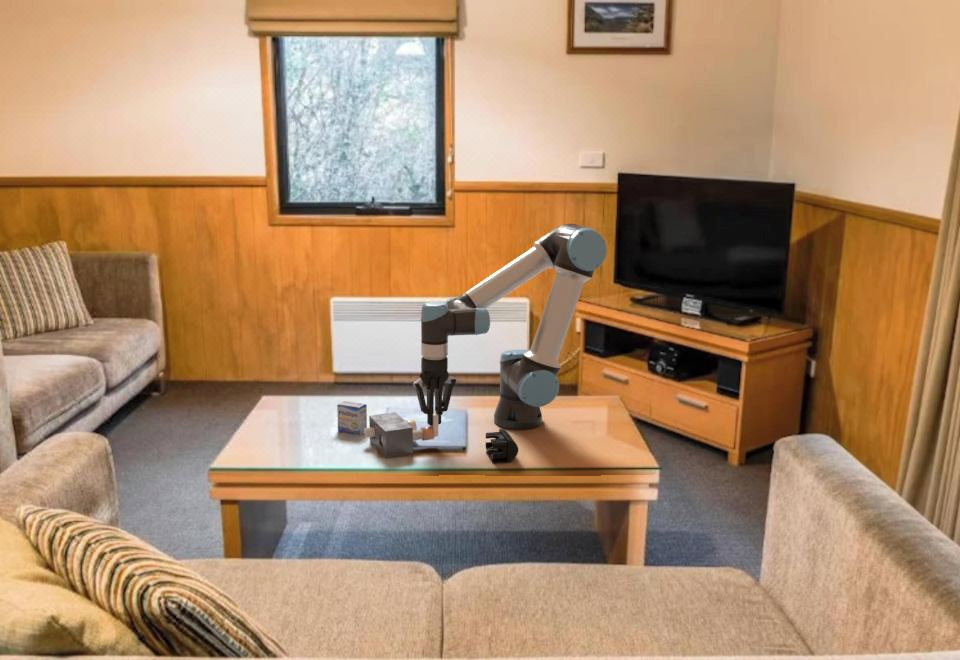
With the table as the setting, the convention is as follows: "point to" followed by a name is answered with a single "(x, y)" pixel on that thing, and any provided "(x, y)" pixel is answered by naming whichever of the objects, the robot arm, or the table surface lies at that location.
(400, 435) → the grey peg holder block
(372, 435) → the knob
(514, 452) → the end cap
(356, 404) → the medicine box
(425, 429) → the knob
